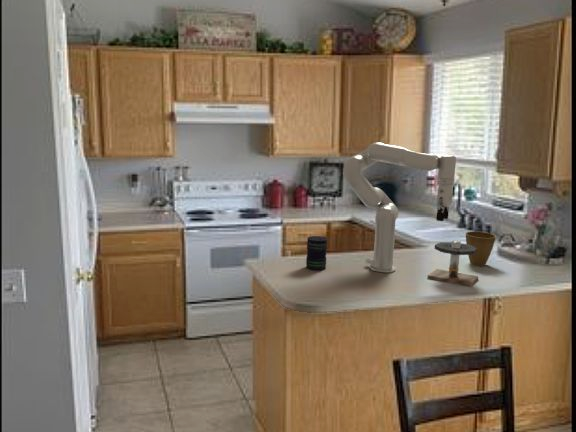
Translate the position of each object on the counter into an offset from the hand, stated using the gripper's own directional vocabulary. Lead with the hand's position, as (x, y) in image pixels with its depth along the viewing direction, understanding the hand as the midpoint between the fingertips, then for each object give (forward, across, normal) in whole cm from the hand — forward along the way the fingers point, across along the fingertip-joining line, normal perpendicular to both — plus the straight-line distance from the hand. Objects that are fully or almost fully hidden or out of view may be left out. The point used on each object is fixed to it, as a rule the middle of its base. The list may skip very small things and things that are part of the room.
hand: (442, 219), depth 265 cm
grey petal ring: (+14, 0, -7) cm, 16 cm away
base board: (+28, 0, -8) cm, 29 cm away
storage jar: (+28, -25, +52) cm, 65 cm away
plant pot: (+28, +36, -11) cm, 47 cm away
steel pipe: (+26, 0, -7) cm, 27 cm away
